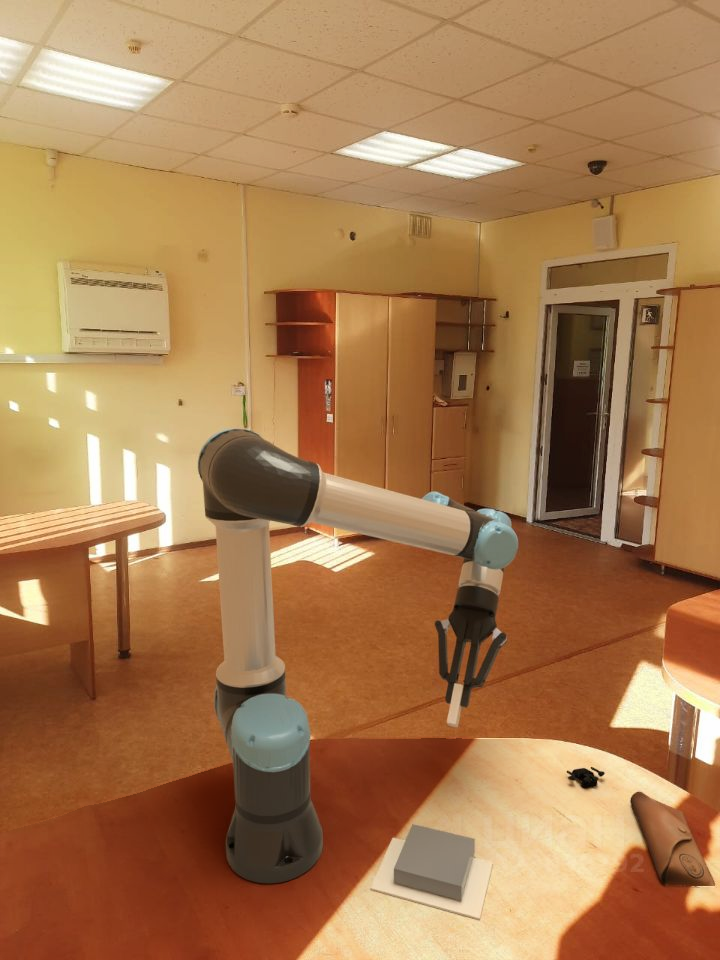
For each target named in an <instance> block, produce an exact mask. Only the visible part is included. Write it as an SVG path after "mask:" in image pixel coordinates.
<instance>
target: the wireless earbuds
mask: <svg viewBox="0 0 720 960" xmlns="http://www.w3.org/2000/svg"><path fill="white" fill-rule="evenodd" d="M594 772H596V773H597V776H595V773H594ZM605 773H606V772H605V771H602V770H599V769H597V768H595V767H593V766H591V767H590V769H587V768H586V767H581V768H576V769H572V771H570V770H566V774H567V775H569V776H568V777H567V779H568V780H569V781H572V782H575V780H578V781H579V782H580V783H579V784H580V786H581V788H583V789H591V788H595V787H597V785H598V780H599V777H600V778H601V777H603V776H604V775H605Z"/></svg>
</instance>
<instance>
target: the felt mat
mask: <svg viewBox="0 0 720 960" xmlns="http://www.w3.org/2000/svg"><path fill="white" fill-rule="evenodd" d="M405 841H406V839H405V840H404V839H401V838H396V837H392V838H391V841H390V843H389V845H388V848H387V849H386V852H385V854H384V856H383V859H382V860H381V863H380V865H379V866H378V870H377V872H376V874H375V877H374V879H373V880H372V884H371V885H370V888H369V890H371V891H373V892H376V893H381V894H384V895H388V896H392V897H394V898H395V897H396V898H398V899H401V900H402V899H403V900H406V901H410V902H413V903H417V904H420V905H423V906H427V907H431V908H435V909H438V910H442V911H446V912H450V913H451V914H455V915H456V914H457V915H460V916H463V917H467V918H471V919H474V920H476V921H477V920H478V921H481V918H482V917H481V916H482V913H483V908H484V905H485V900H486V896H487V891H488V887H489V883H490V878H491V874H492V869H493V866H494V862H492V861H490V860H489V861H488V860H486V859H482V858H478V857H474V856H473V860H472V864H471V867H470V871H469V875H468V878H467V882H466V886H465V889H464V893H463V897H462V900H461V901H459V900H456V899H452V898H448V897H445V896H441V895H437V894H433V893H430V892H426V891H422V890H419V889H415V888H411V887H408V886H404V885H400V884H397V883H394V867H395V865H396V862H397V860H398V857H399V855H400V853H401V850H402V848H403V845H404V843H405Z"/></svg>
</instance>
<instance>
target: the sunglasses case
mask: <svg viewBox="0 0 720 960" xmlns="http://www.w3.org/2000/svg"><path fill="white" fill-rule="evenodd" d="M630 805H631V809H632V811H633V814H634V816H635V818H636V820H637V824H638V825H639V828H640V830H641V833H642V836H643V839H644V841H645V844H646V845H647V848H648V851H649V853H650V856H651V859H652V862H653V865H654V868H655V870H656V871H655V872H656V873H657V875H658V877H659V878H658V879H659V880H660V881H661V882H662V884H663V885H664V886H669V885H670V887H671V885H672V886H673V885H678V886H677V887H680V886H679V885H683V886H682V887H686V886H689V887H688V888H691V887H690V886H715V885H716V883H715V879H714V877H713V876H712V874H711V871H710V869H709V867H708V866H707V865H708V864H707V862H705V859H704V857H703V855H702V853H701V851H700V849H699V846H698V845H697V843H696V842H697V841H695V838H694V835H693V834H692V831H691V829H690V827H689V824H688V822H687V820H686V817H685V814H684V813H682V812H683V810H681V809H676V808H675V807H672V806H669V805H668V804H666V803H663V802H661V801H658V800H657V799H653V798H651V797H650V796H649V795H647V794H645V793H644V792H642V791H636V792H634V793H633V794H632V795H631V797H630ZM680 810H681V811H680ZM684 885H685V886H684ZM673 887H674V886H673Z"/></svg>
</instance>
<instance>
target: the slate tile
mask: <svg viewBox="0 0 720 960" xmlns="http://www.w3.org/2000/svg"><path fill="white" fill-rule="evenodd" d="M475 843H476V838H474V837H473V838H472V837H468V836H464V835H460V834H456V833H452V832H448V831H445V830H440V829H434V828H432V827H431V828H430V827H428V826H427V827H426V826H423V825H418V824H414V823H412V824H411V827H410V829H409V830H408V833H407V836H406V838H405V843H404V845H403V848H402V850H401V853H400V855H399V857H398V860H397V862H396V865H395V867H394V883H397V884H400V885H404V886H408V887H411V888H415V889H419V890H422V891H426V892H430V893H433V894H437V895H441V896H445V897H448V898H452V899H456V900H459V901H461V900H462V897H463V893H464V889H465V886H466V882H467V878H468V875H469V871H470V867H471V864H472V860H473V857H474V856H475V852H476V851H475V850H476V848H475V847H476V846H475V845H476V844H475Z"/></svg>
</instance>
